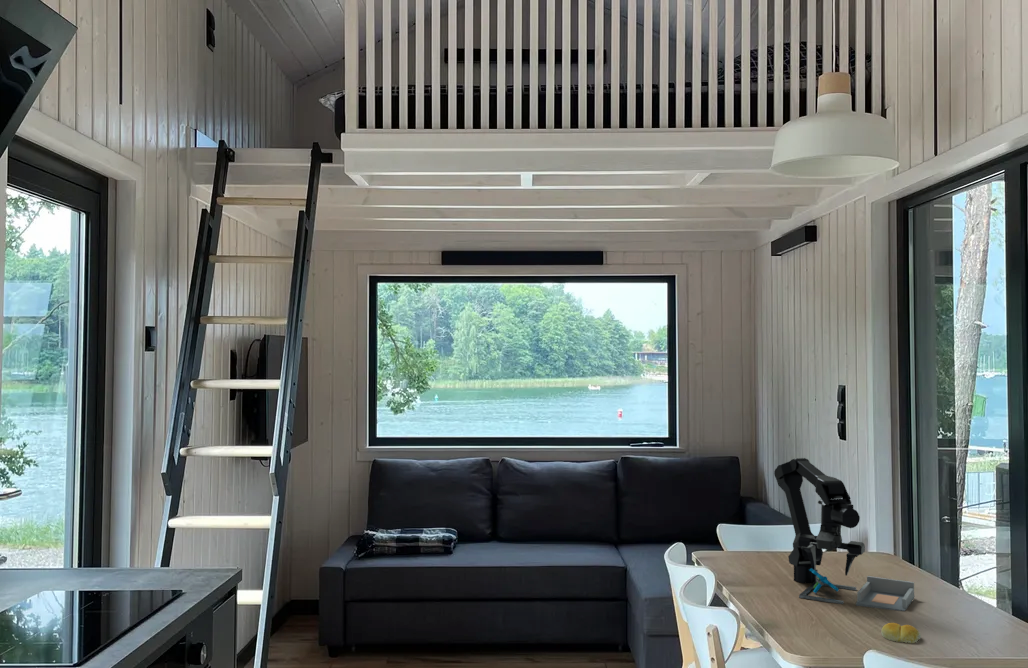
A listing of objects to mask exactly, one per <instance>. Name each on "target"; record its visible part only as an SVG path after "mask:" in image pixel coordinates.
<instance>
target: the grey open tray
mask: <svg viewBox="0 0 1028 668" xmlns="http://www.w3.org/2000/svg"><path fill="white" fill-rule="evenodd" d="M856 597H857V600H856V602H855V606H858V607H865V608H873V609H882V610H890V611H896V612H897V611H898V612H906V610H907V609H908V608H909V606H910V605H911V602H912V600H913V599H914V597H915V582H914V581H908V580H901V579H900V580H899V579H895V578H893V579H892V578H885V577H878V576H877V577H876V576H870V575H867V576H866V582H865V583H864V584H863V586H862V587H860V588H859V590H858V591H857V592H856ZM914 600H915V599H914ZM914 600H913V601H914ZM912 603H913V602H912Z"/></svg>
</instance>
